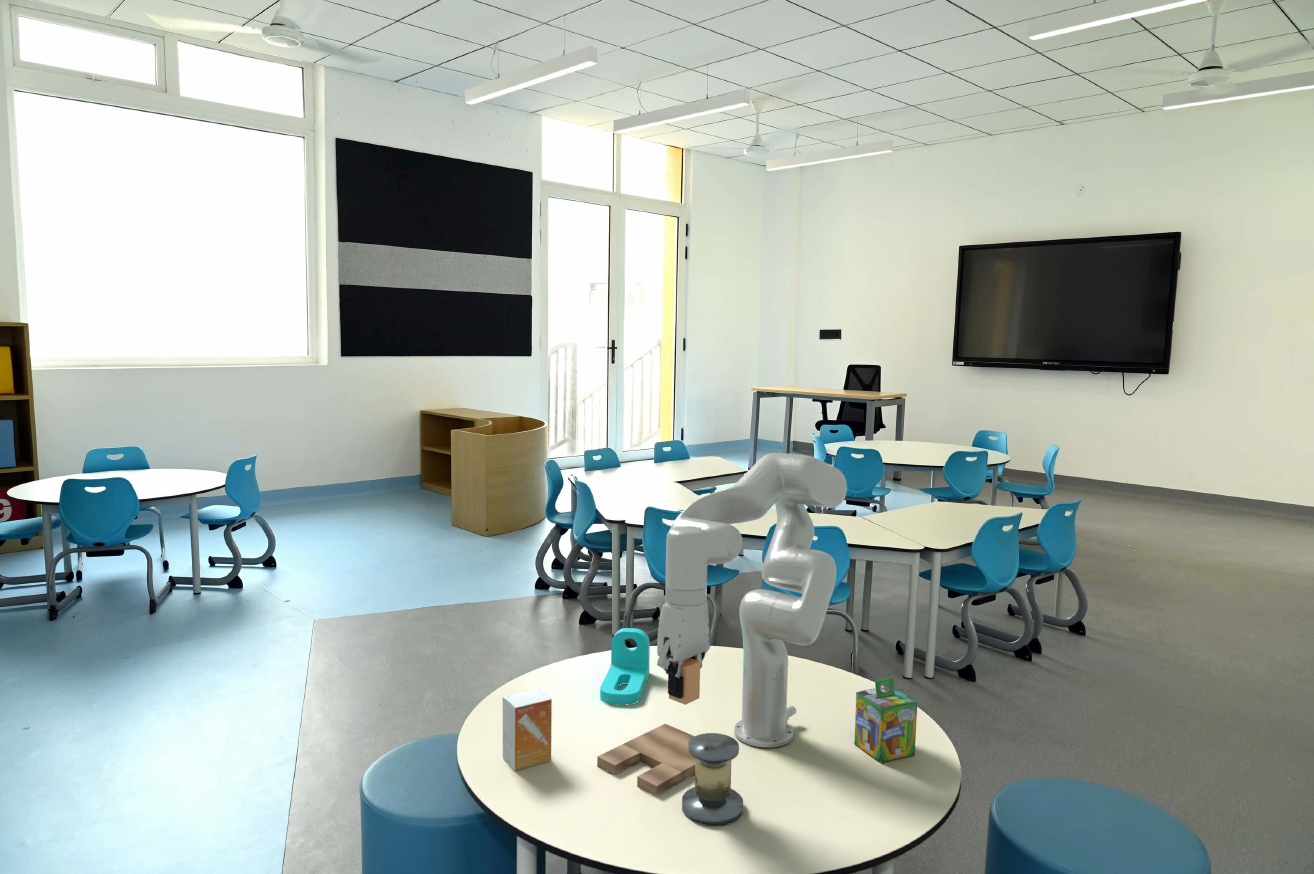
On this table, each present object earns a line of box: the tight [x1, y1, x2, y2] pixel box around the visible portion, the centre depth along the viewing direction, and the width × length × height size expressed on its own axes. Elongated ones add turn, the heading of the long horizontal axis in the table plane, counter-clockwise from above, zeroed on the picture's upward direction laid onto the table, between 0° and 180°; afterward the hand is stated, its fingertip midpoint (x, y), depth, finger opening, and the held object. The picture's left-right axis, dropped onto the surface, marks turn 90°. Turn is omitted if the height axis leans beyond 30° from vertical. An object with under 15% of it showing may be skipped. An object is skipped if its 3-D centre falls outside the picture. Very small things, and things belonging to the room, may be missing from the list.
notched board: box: [596, 723, 696, 797], centre depth 163 cm, size 20×16×2 cm
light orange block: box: [668, 658, 701, 705], centre depth 149 cm, size 4×4×7 cm
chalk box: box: [853, 677, 918, 763], centre depth 168 cm, size 9×9×15 cm
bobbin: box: [681, 732, 744, 827], centre depth 146 cm, size 11×11×12 cm
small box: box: [502, 688, 553, 771], centre depth 163 cm, size 8×6×13 cm
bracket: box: [599, 627, 651, 706], centre depth 199 cm, size 20×9×12 cm, turn 172°
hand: (683, 691), depth 150 cm, fingers closed on light orange block, 4 cm apart
